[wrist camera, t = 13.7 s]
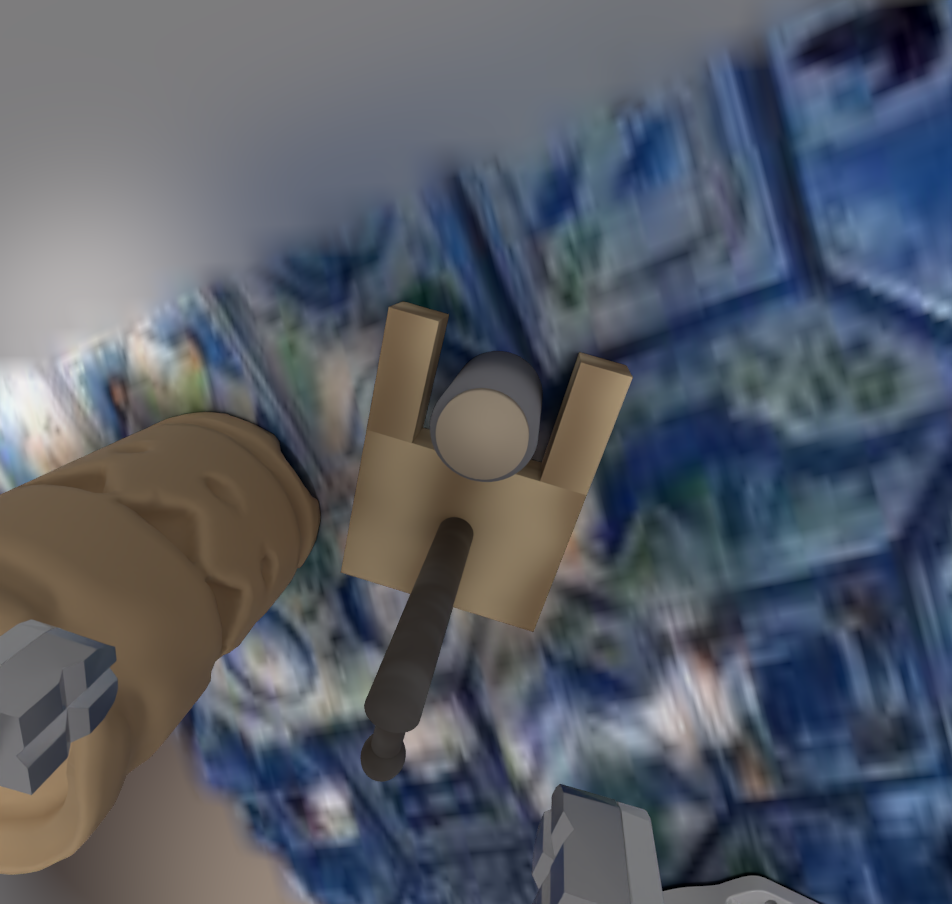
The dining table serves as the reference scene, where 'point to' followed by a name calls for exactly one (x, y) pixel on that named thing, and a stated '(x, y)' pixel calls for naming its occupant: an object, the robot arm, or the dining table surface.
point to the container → (144, 592)
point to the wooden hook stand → (459, 519)
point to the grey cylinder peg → (489, 418)
